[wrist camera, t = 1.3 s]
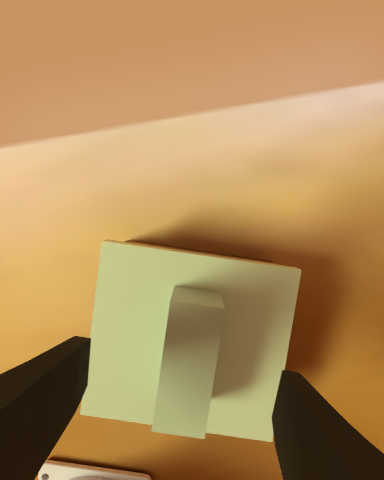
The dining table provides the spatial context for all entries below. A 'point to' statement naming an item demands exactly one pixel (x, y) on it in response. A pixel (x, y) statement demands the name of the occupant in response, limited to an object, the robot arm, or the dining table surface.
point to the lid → (189, 340)
